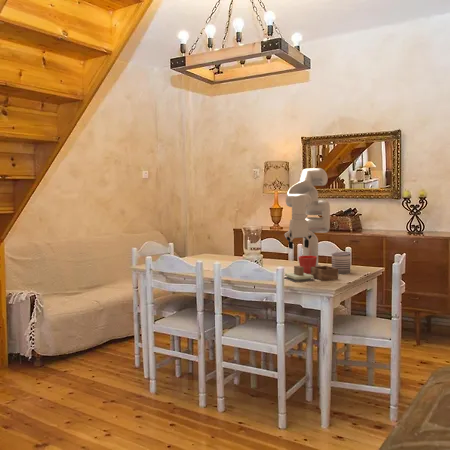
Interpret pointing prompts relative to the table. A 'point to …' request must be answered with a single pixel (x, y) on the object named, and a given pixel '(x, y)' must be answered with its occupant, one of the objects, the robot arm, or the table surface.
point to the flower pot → (307, 263)
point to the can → (341, 262)
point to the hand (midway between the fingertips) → (298, 248)
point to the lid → (299, 274)
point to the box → (324, 273)
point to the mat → (298, 280)
